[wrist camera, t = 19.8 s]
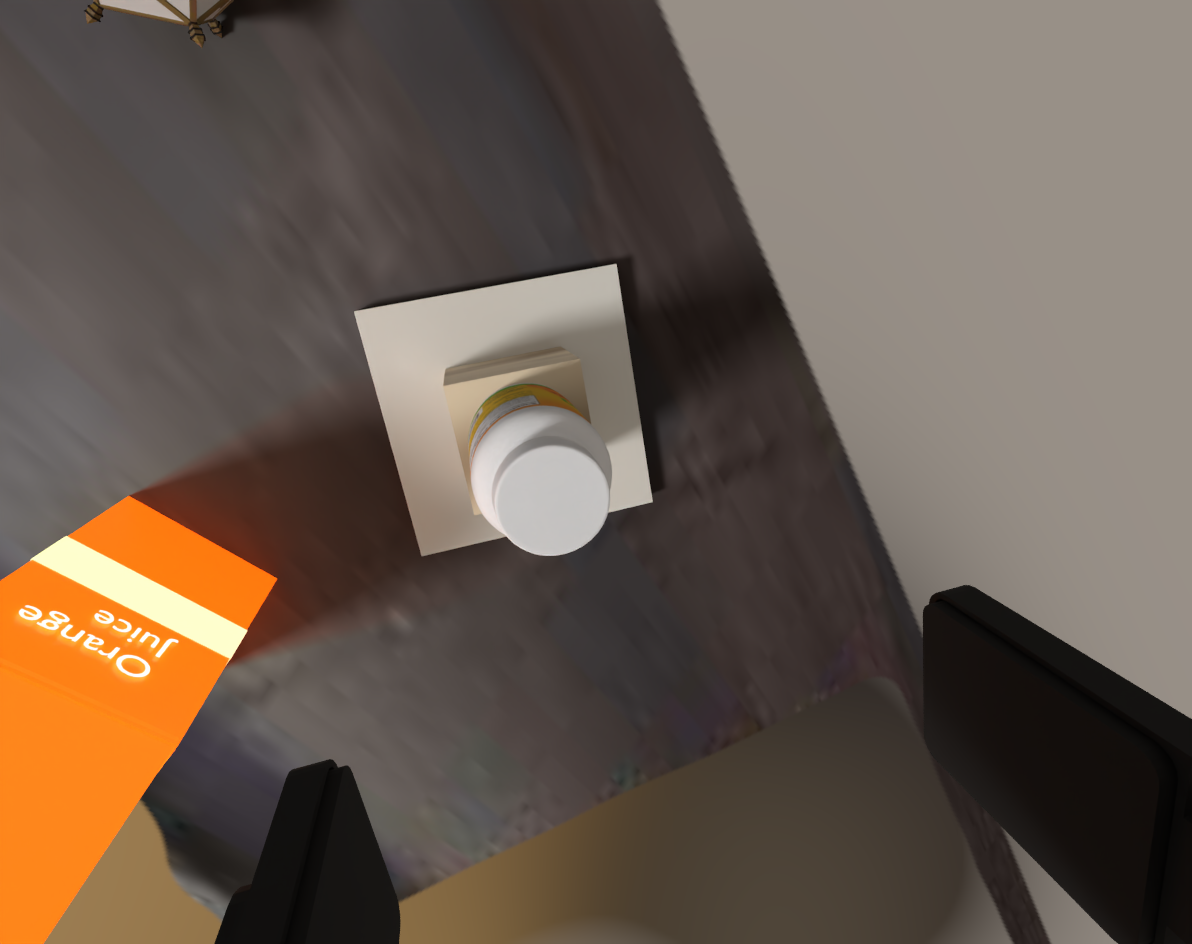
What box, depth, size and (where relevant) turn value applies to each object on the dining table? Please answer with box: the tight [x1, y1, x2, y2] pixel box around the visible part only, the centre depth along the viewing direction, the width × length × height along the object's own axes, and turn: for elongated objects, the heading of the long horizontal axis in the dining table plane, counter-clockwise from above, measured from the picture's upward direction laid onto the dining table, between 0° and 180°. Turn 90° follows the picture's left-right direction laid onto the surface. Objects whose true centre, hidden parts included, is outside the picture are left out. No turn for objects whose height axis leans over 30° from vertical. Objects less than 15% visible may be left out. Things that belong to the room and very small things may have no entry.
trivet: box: [354, 264, 653, 556], centre depth 38 cm, size 14×14×1 cm
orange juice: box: [0, 496, 277, 944], centre depth 28 cm, size 8×9×20 cm
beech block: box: [443, 347, 591, 515], centre depth 34 cm, size 6×6×6 cm
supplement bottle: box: [468, 383, 612, 556], centre depth 27 cm, size 5×5×10 cm
